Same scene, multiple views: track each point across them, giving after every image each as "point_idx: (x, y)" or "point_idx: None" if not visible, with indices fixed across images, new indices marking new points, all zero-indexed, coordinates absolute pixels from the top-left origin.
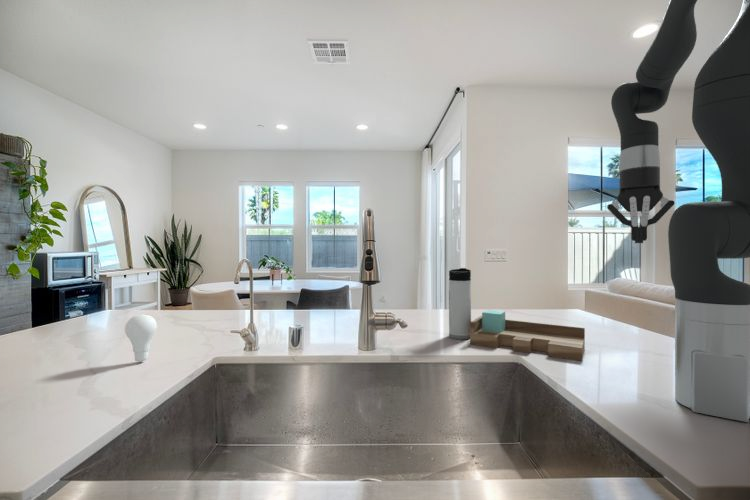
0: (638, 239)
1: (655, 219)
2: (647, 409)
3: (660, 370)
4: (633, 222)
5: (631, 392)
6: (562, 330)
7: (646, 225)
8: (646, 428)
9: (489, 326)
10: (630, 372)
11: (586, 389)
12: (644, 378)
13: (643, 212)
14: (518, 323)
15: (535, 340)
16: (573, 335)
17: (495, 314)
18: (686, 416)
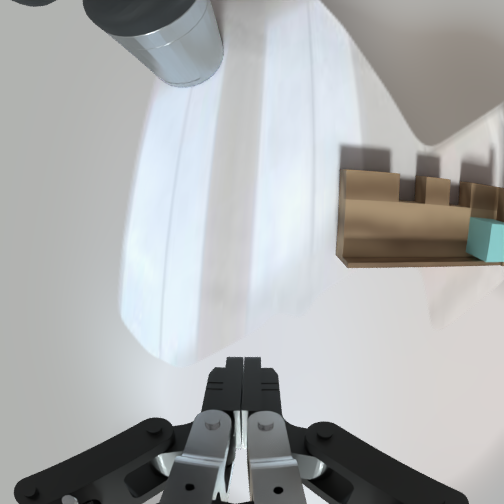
0: (247, 363)
1: (145, 434)
2: (257, 10)
3: (225, 184)
4: (274, 431)
5: (271, 52)
6: (383, 259)
7: (201, 413)
8: None
9: (489, 219)
10: (269, 144)
11: (324, 37)
12: (251, 123)
13: (206, 475)
14: (454, 260)
15: (419, 203)
16: (361, 257)
17: (497, 224)
18: (221, 12)
